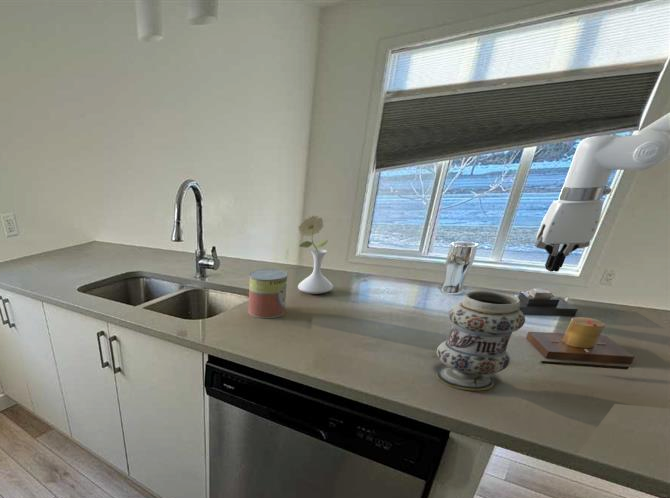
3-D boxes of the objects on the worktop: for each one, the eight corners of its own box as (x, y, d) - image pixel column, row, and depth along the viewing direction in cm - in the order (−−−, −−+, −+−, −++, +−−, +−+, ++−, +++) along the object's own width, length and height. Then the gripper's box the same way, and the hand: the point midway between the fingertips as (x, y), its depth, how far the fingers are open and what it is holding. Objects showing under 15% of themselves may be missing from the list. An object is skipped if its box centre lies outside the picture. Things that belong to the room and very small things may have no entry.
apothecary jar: (509, 379, 84) (544, 295, 75) (484, 401, 78) (518, 313, 69) (445, 361, 92) (469, 283, 83) (419, 378, 87) (441, 298, 78)
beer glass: (434, 293, 130) (447, 245, 123) (441, 287, 134) (454, 240, 126) (459, 296, 125) (474, 247, 118) (466, 290, 129) (481, 242, 122)
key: (544, 295, 112) (546, 288, 111) (549, 299, 109) (552, 292, 108) (528, 294, 113) (530, 288, 112) (533, 298, 110) (535, 292, 109)
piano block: (557, 304, 115) (563, 290, 113) (574, 317, 107) (581, 302, 105) (497, 302, 119) (502, 289, 117) (509, 314, 111) (514, 300, 109)
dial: (557, 337, 91) (567, 315, 89) (586, 338, 90) (597, 316, 87) (568, 347, 87) (579, 324, 84) (599, 348, 85) (611, 325, 83)
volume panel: (599, 347, 92) (605, 334, 90) (627, 369, 83) (635, 356, 82) (523, 343, 97) (528, 330, 95) (543, 363, 88) (548, 350, 86)
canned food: (278, 320, 121) (281, 280, 115) (243, 315, 127) (243, 278, 121) (289, 307, 129) (292, 270, 123) (255, 304, 135) (256, 268, 129)
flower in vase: (333, 287, 143) (343, 211, 131) (330, 297, 134) (341, 217, 122) (295, 285, 148) (301, 213, 136) (290, 295, 139) (296, 218, 127)
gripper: (612, 191, 99) (580, 266, 108) (535, 195, 104) (512, 266, 113) (630, 194, 93) (595, 274, 102) (548, 198, 98) (522, 274, 107)
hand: (551, 270), depth 107 cm, fingers closed
